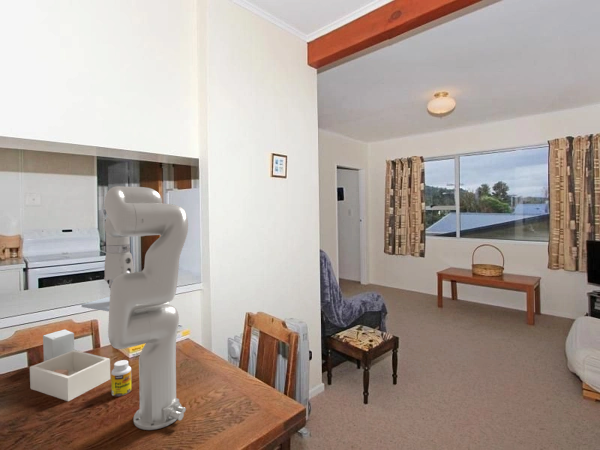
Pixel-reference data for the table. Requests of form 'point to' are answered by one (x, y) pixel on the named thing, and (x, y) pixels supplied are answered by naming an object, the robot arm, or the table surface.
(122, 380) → the supplement bottle
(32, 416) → the table surface
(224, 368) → the table surface
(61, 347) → the supplement box
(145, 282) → the robot arm
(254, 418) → the table surface
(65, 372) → the terracotta block
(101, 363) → the storage box
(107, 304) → the lid
